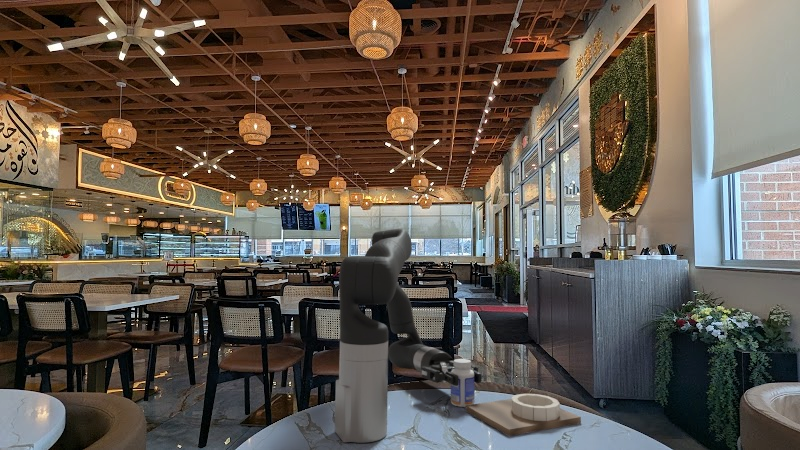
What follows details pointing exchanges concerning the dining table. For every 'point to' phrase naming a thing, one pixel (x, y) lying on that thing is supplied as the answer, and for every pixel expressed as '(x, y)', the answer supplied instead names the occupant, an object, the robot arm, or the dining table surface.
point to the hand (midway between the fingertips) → (468, 379)
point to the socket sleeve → (535, 407)
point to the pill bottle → (463, 384)
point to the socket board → (516, 418)
